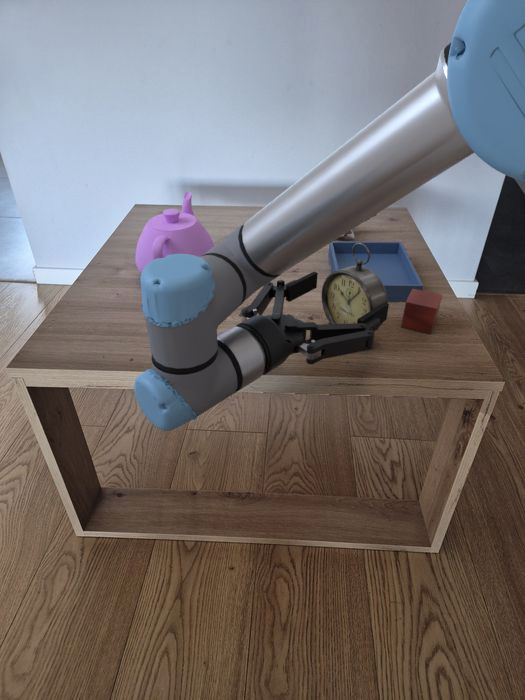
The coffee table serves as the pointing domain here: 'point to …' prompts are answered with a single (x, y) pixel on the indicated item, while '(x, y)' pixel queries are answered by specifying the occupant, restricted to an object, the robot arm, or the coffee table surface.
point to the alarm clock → (352, 292)
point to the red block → (421, 311)
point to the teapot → (172, 235)
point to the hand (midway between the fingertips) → (348, 294)
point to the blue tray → (379, 265)
